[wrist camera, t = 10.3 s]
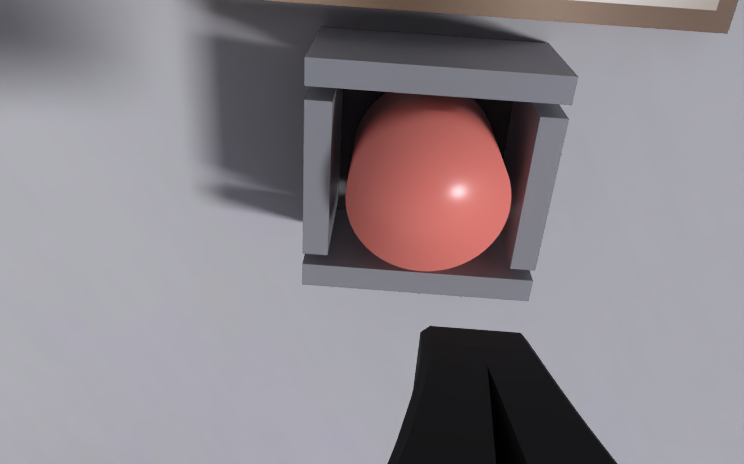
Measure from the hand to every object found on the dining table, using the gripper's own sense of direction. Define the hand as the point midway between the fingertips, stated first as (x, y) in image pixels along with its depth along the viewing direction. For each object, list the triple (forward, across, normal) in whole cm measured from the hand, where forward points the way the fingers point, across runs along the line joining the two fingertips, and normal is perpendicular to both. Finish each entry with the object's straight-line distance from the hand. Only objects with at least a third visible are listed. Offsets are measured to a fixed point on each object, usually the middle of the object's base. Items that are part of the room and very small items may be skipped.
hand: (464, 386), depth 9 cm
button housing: (+9, 0, 0) cm, 9 cm away
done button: (+9, 0, 0) cm, 9 cm away
